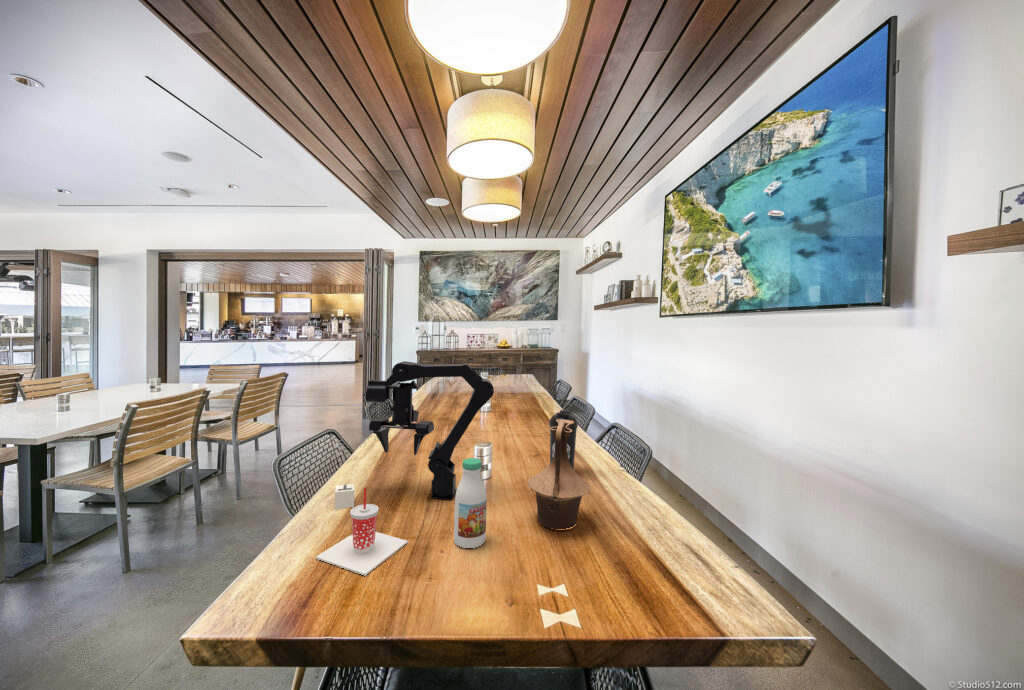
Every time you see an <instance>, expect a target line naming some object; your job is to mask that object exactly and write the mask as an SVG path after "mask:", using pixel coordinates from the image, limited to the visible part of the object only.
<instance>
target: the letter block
mask: <svg viewBox="0 0 1024 690" xmlns="http://www.w3.org/2000/svg"><path fill="white" fill-rule="evenodd" d="M334 491H335V492H334V511H337V510H344V509H349V507H352V508H354V507H355V483H348V484H339V485H335V490H334ZM343 508H344V509H343Z"/></svg>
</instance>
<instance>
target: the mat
mask: <svg viewBox="0 0 1024 690" xmlns="http://www.w3.org/2000/svg"><path fill="white" fill-rule="evenodd" d="M407 543H408V544H409V541H408V540H407V539H402V538H399V537H395V536H392V535H389V534H386V533H382V532H378V531H376V533H375V545H374V549H373V550H372V551H370V552H368V553H364V554H357V553H355V552H354V551H353V535H352V534H350V535H349V536H347V537H345V538H344V539H342V540H340V541H339V542H337V543H336V544H334V545H332V546H331V547H329V548H328V549H326V550H323V552H320V554H317V555H316V556H315V560H316V559H318V560H317V561H319V560H321V561H324V562H327V563H330V564H333V565H336V566H339V567H341V568H344V569H347V570H350V571H353V572H355V573H358V574H361V575H364V576H366V575H367V574H368V573H369V572H370V571H372V570H373V569H374V568H375V567H377V566H378V565H379V564H381V563H382V562H383V561H385V560H386V559H387V558H388V557H390V556H391V555H392V554H394V553H395V552H396V551H398V550H399V549H400V548H401V549H402V547H403V546H404V545H405V544H407ZM408 544H407V545H408ZM405 546H406V545H405ZM405 546H404V547H405ZM404 547H403V548H404ZM401 549H400V550H401ZM400 550H399V551H400ZM399 551H398V552H399ZM396 553H397V552H396ZM396 553H395V554H396ZM395 554H394V555H395ZM392 556H393V555H392ZM392 556H391V557H392ZM391 557H390V558H391ZM387 560H388V559H387ZM387 560H386V561H387ZM321 561H320V562H321ZM386 561H385V562H386ZM324 562H323V563H324ZM327 563H326V564H327ZM383 563H384V562H383ZM383 563H382V564H383ZM330 564H329V565H330ZM382 564H381V565H382ZM333 565H332V566H333ZM336 566H335V567H336ZM378 567H379V566H378ZM378 567H377V568H378ZM341 568H340V569H341ZM344 569H343V570H344ZM347 570H346V571H347ZM350 571H349V572H350ZM373 571H374V570H373ZM373 571H372V572H373ZM353 572H352V573H353ZM355 573H354V574H355ZM358 574H357V575H358ZM369 574H370V573H369ZM369 574H368V575H369ZM361 575H360V576H361ZM368 575H367V576H368ZM364 576H363V577H364ZM367 576H366V577H367Z"/></svg>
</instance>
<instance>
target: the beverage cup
mask: <svg viewBox="0 0 1024 690" xmlns="http://www.w3.org/2000/svg"><path fill="white" fill-rule="evenodd" d="M378 514H379V506H378V505H376V504H373V503H367V488H366V487H364V488H363V504H359V505H356V506H354V507H352V509H351V508H350V517H351V528H352V529H351V531H352V532H351V533H352V534H351V535H353V551H354V552H355V553H357V554H364V553H368V552H370V551H372V550H373V549H374V545H375V533H376V532H377V520H378Z"/></svg>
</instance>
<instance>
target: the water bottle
mask: <svg viewBox="0 0 1024 690" xmlns="http://www.w3.org/2000/svg"><path fill="white" fill-rule="evenodd" d="M571 413H572V412H571V410H567V409H566V410H565V409H560V410H559V412H556V413H555V414H554V415H552V416H551V417H550V419H549V424H548V425H549V427H550V428H549V429H550V431H549V436H550V437H549V439H550V440H549V464H550V463H551V461H552V460H553V457H554V454H555V437H554V435H553V433H552V432H551V427H556V426H558V424H557V422H556V420H557V419H562V420H571V421H574V424H572V425H571V426H570V427H569V429H571V430H572V433H571V434H570V436H569V438H568V439H567V453H568V459H569V462H570V464H571V466H572V468H573V470H574V471H575V456H576V455H575V454H576V442H577V429H578V426H579V425H578V424H579V422H578V419H577V418H576V417H575V416H574V415H572V414H571ZM567 424H568V423H565V426H566V425H567Z"/></svg>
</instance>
